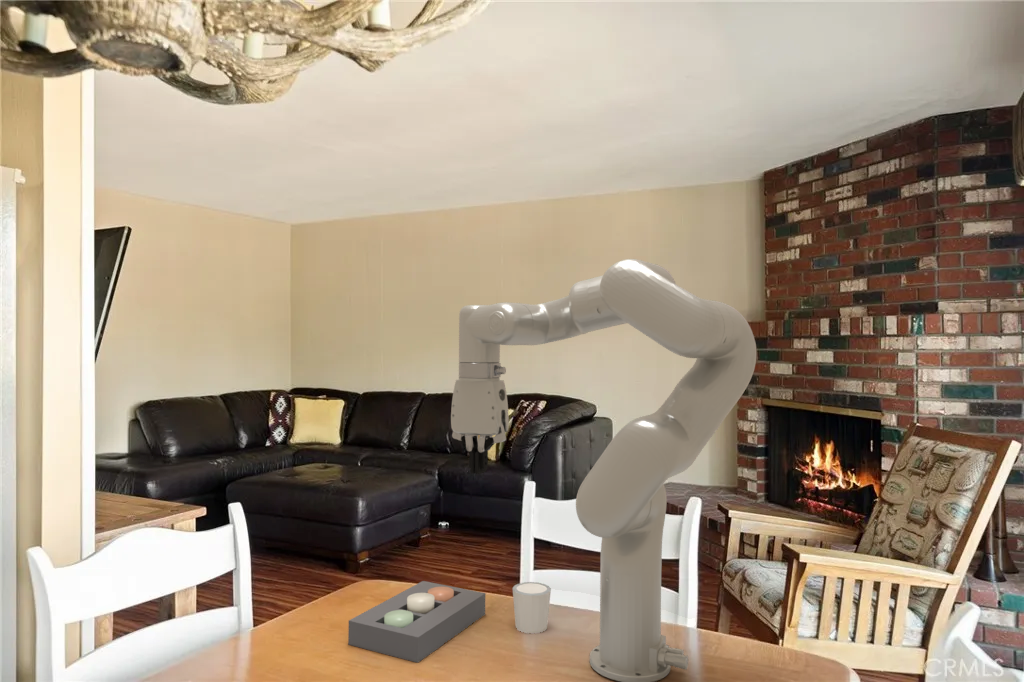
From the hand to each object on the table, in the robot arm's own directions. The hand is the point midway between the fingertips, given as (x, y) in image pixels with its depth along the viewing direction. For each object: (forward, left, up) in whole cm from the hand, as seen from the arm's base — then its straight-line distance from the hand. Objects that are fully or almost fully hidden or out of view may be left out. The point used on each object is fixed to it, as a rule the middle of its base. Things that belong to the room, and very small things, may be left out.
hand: (478, 472), depth 126 cm
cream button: (+7, +8, -26) cm, 28 cm away
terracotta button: (+7, +1, -26) cm, 27 cm away
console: (+7, +8, -27) cm, 29 cm away
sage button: (+7, +14, -25) cm, 30 cm away
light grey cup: (-10, -2, -27) cm, 29 cm away
